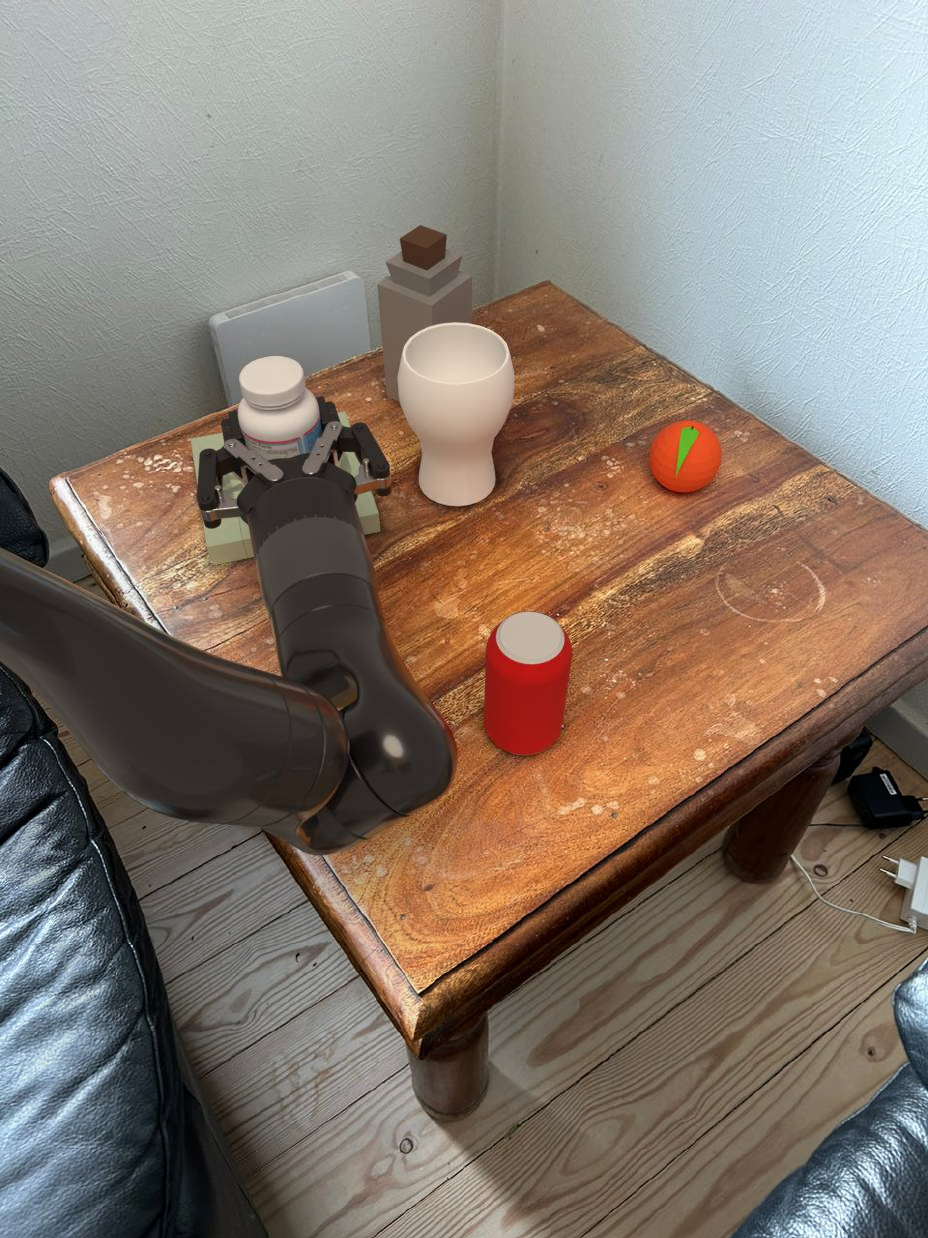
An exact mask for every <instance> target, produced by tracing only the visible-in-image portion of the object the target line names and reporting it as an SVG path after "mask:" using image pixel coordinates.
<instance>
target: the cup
mask: <svg viewBox="0 0 928 1238" xmlns="http://www.w3.org/2000/svg"><path fill="white" fill-rule="evenodd" d="M397 379H398V393H399V400H400V402H399V405H400V408H401V409H402V413H403V414H404V417H405V419H406V421H407V424H408V426H409V427H410V428H411V430H412V431H413V432H414V434H415V435H416V437H417V438H418V440H419V444H420V449H421V460H420V465H419V470H418V471H419V473H418V485H419V488H420V490H421V491H422V493H423V494H424V495H425V496H426V497H427V498H428V499H429V500H431V501H433V502H435V503H437V504H440V505H445V506H450V507H464V506H465V507H466V506H469V505H470V506H471V505H473V504H477V503H479V502H481V501H482V500H485V499H486V498H487V497H488V496H489V495H490V494H491V493H492V491H493V490H494V488H495V486H496V471H495V465H494V459H493V454H492V451H493V445H494V441H495V438H496V436H497V435H498V434H499V432H500V431H501V430H502V428H503V427H504V424H505V423H506V421H507V418H508V416H509V413H510V411H511V409H512V406H513V403H514V393H515V379H516V377H515V371H514V366H513V362H512V356H511V352H510V348H509V346H508V344H507V342H506V341H505V340H504V338H503V337H502V336H500V335H499V334H498V333H497V332H495V331H493V329H489V328H487V327H484V326H482V325H478V324H474V323H472V324H470V323H456V322H454V323H443V324H438V325H434V326H430V327H427V328H425V329H423V330H421V331H419V332H417V333H416V334H414V335H413V336H412V337H410V339H409V340H408V341H407V343H406V344H405V345H404V348H403V352H402V357H401V362H400V367H399V372H398V377H397Z"/></svg>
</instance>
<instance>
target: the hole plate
mask: <svg viewBox="0 0 928 1238" xmlns="http://www.w3.org/2000/svg"><path fill="white" fill-rule="evenodd" d="M337 413H338V416H339V419H340V423H341V424H342V425H343V426H345V427H351V424H350V420H349V418H348V415H347V412H346V411H344V410H343V411H340V412H339V411H337ZM190 446H191V452H192V458H193V465H194V471H195V479H196V484H197V486H198V471H199V456H200V452H201V451H202V450H204V449H208V448H211V449H214V450H215V451H217V450H219V449H221V448H222V447H223V446H224V439H223V433H222V432H220V433H214V434H208V435H202V436H197V437H191V438H190ZM359 466H360V463H359V461H358V459H357V458H356V456H355V453H354V452H345V454H344V457H343V459H342V461H341V464H340V467H339V468H341V469H343V470H345V471H346V472H348V473H350V474H351V475H353V477H355V476H357V475H358V474H359ZM197 486H196V487H197ZM244 487H245V486H244V484H243V483H242V482H241V481H240V480H239V479H237V478H236V477H235V476H234V475H233V474H232V473H229V474H226V475H224V476H223V490H226V491H227V492H228V494H229V496H230V497H231V498H233V499H237V497H238V495H239V493H240V492H241V491H242V490H243V488H244ZM355 505H356V508H357V511H358V515H359V518H360V521H361V525H362V528H363V531H364V535H365V536H366V535H370V534H375V533H380V532H381V521H380V513H379V509H378V506H377V503H376V501H375V498H374V494H373V491H369V492H366V493H362V494H359V495H358V498H357V500H356V502H355ZM202 525H203V533H204V539H205V547H206V550H207V553H208V556H209V560H210V562H211V565H212V566H216V565H222V564H226V563H227V564H228V563H232V562H237V561H241V560H246V559H251V558H254V553H253V548H252V543H251V537H250V532H249V526H248V525H247V524H246V523H245V522H244V521H243V520H242V519H241V517H234V518H224V519H222V520H221V525H220V526H219V527H217V528H214V529H209V528H206V527H205V525H204V522H203V519H202Z"/></svg>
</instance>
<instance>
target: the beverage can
mask: <svg viewBox="0 0 928 1238" xmlns="http://www.w3.org/2000/svg"><path fill="white" fill-rule="evenodd" d="M572 662H573V645H572V642H571V639H570V637H569V635H568V633H567V632H566V630H565V629H564V628H563V626H561V625H560V623H559V622H558V621H557V620H556V619H554V618H553V617H551V616H550V615H548V614H546V613H543V612H539V611H534V610H527V611H519V612H515V613H513V614H511V615H509V616H507V617H506V618H504V619H503V620H502V621H501V622H499V623H498V624H497V625H496V626H495V627H494V628H493V629H492V631H491V632H490V634H489V636H488V638H487V641H486V645H485V663H484V664H485V665H484V667H485V668H484V703H483V725H484V730H485V733H486V734H487V736H488V738H489V739H490V740H491V742H493V744H494V745H496V746H497V747H498V748H500V749H501V750H503V751H505V752H507V753H510V754H512V755H518V756H532V755H537V754H540V753H542V752H545V751H547V750H548V749H549V748H551V747H552V746H553V745H554V744H555V743H556V742H557V740H558V738H559V737H560V734H561V733H562V728H563V723H564V715H565V709H566V701H567V695H568V688H569V681H570V675H571V669H572Z"/></svg>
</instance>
